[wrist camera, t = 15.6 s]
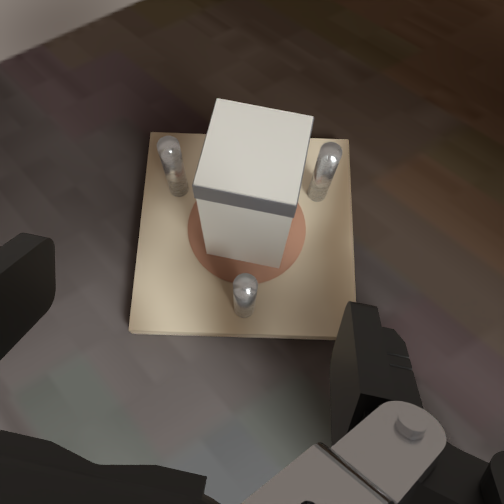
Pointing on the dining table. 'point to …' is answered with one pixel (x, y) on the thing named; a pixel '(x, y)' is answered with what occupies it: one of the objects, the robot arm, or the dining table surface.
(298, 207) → the pin cradle
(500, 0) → the dining table surface
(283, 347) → the dining table surface
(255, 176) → the block
